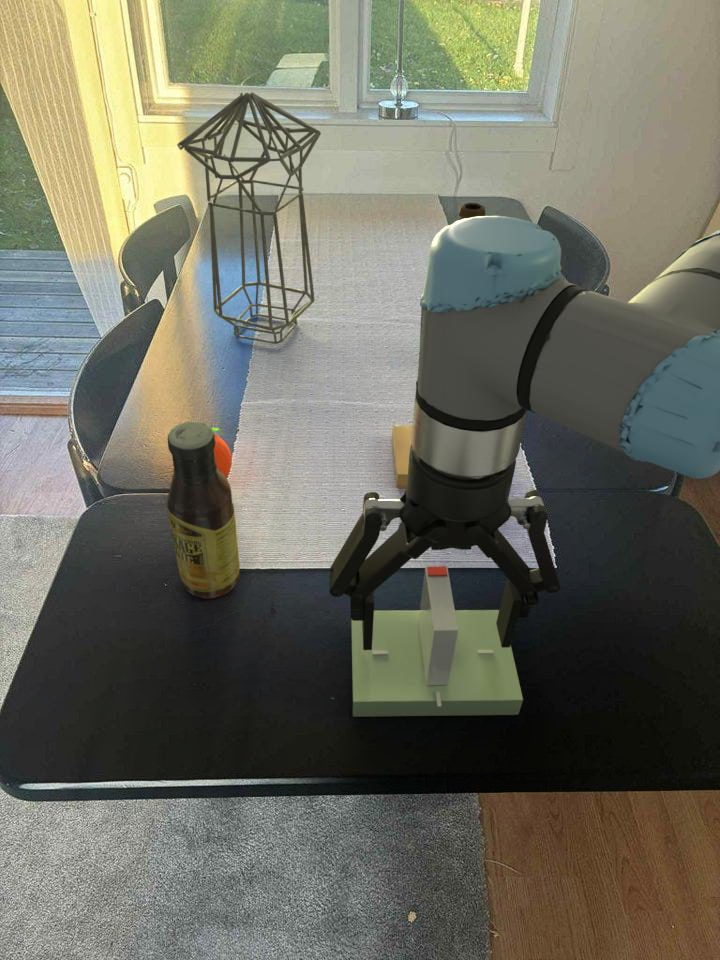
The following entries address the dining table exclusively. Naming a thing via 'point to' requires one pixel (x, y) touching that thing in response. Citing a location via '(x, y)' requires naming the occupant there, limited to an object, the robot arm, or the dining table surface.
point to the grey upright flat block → (437, 625)
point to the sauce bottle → (201, 513)
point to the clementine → (222, 454)
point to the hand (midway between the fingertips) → (435, 636)
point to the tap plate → (401, 678)
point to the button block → (401, 453)
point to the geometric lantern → (237, 113)
